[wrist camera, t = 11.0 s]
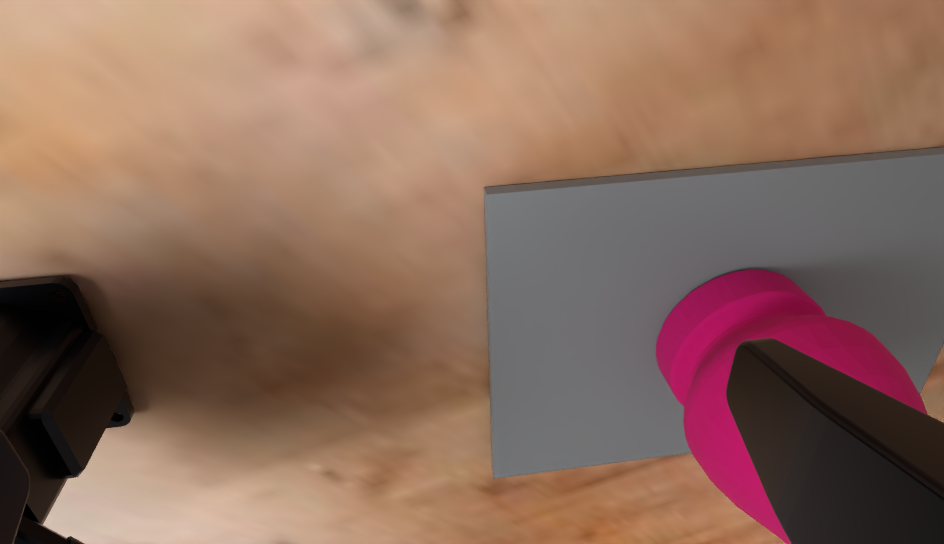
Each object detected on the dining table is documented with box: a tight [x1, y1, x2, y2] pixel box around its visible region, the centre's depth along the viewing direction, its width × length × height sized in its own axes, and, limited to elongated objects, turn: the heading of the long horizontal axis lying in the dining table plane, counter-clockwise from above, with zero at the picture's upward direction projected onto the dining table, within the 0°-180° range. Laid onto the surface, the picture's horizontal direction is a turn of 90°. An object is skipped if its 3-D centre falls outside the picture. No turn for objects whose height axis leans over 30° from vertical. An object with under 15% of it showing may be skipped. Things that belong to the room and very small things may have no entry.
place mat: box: [484, 147, 944, 479], centre depth 25 cm, size 20×14×1 cm
